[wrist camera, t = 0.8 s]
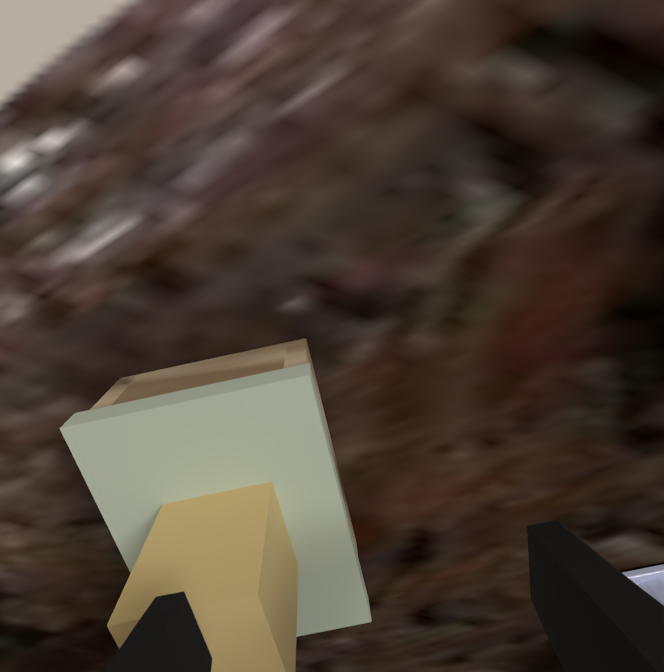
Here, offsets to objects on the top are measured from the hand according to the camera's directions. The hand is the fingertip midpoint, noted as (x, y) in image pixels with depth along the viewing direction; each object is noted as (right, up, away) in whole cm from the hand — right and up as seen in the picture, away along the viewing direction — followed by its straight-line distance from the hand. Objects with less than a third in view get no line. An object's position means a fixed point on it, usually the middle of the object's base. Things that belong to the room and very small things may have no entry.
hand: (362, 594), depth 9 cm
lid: (-4, -2, +8) cm, 9 cm away
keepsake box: (-5, -1, +11) cm, 12 cm away
